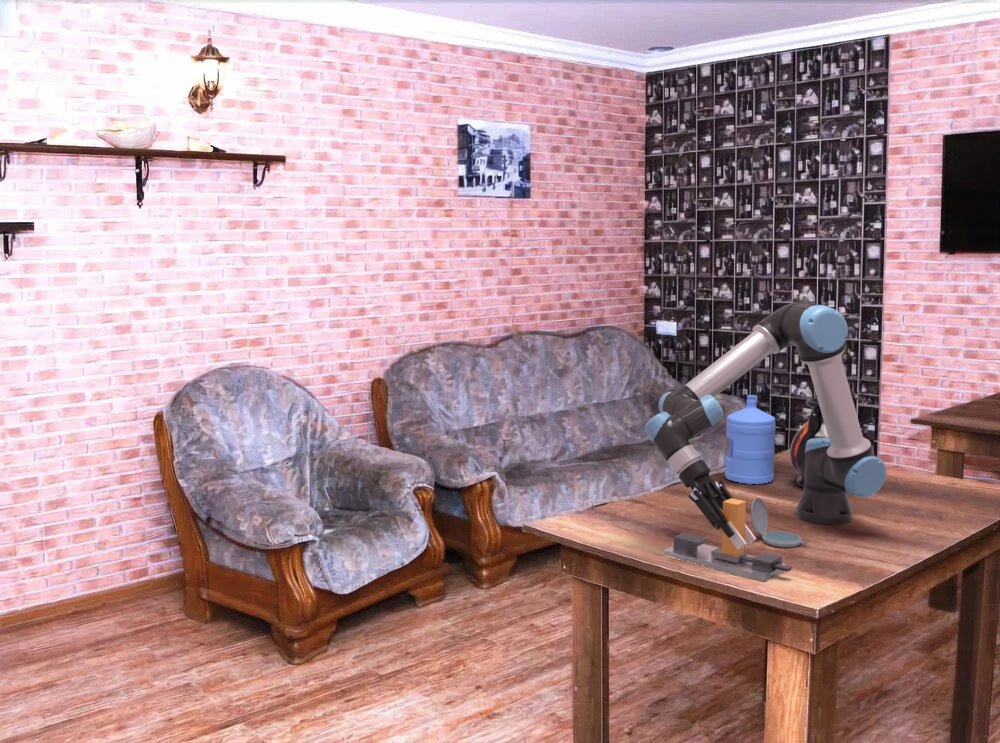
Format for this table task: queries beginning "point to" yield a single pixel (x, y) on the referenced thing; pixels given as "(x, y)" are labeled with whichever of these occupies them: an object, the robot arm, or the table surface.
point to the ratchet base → (699, 553)
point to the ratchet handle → (736, 516)
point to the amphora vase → (806, 438)
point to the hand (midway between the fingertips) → (747, 544)
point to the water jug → (750, 445)
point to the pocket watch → (774, 537)
